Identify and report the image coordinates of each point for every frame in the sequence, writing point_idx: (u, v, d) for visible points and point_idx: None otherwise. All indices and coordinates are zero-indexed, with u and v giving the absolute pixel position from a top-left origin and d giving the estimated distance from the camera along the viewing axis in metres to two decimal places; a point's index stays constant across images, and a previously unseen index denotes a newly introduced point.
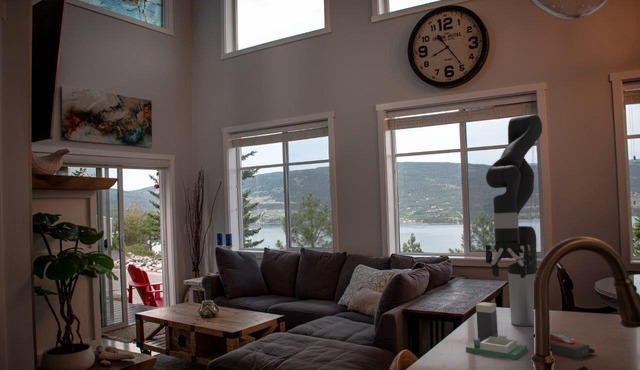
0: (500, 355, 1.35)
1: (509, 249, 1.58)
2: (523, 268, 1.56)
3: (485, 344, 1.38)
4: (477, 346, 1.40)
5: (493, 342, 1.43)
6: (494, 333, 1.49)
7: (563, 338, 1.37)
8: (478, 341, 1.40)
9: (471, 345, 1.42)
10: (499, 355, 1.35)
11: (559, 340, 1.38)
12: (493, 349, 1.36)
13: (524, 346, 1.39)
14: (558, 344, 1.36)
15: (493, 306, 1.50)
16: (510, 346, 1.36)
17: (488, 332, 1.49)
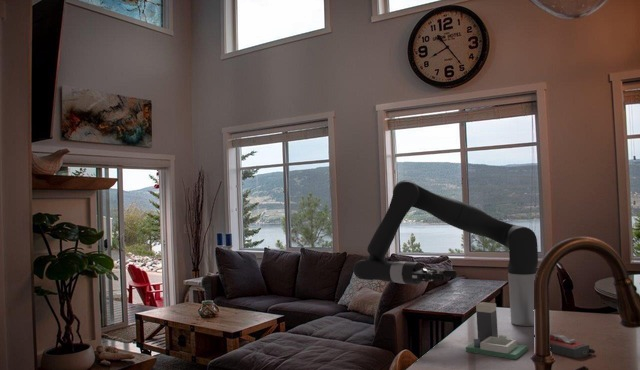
0: (500, 355, 1.35)
1: None
2: (434, 279, 1.57)
3: (485, 344, 1.38)
4: (477, 346, 1.40)
5: (493, 342, 1.43)
6: (494, 333, 1.49)
7: (563, 338, 1.37)
8: (478, 341, 1.40)
9: (471, 345, 1.42)
10: (499, 355, 1.35)
11: (559, 340, 1.38)
12: (493, 349, 1.36)
13: (524, 346, 1.39)
14: (558, 344, 1.36)
15: (493, 306, 1.50)
16: (510, 346, 1.36)
17: (488, 332, 1.49)
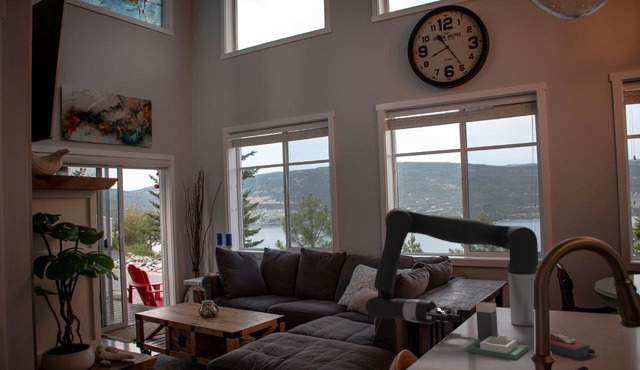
0: (500, 355, 1.35)
1: None
2: (449, 320, 1.54)
3: (485, 344, 1.38)
4: (477, 346, 1.40)
5: (493, 342, 1.43)
6: (494, 333, 1.49)
7: (564, 338, 1.37)
8: (478, 341, 1.40)
9: (471, 345, 1.42)
10: (499, 355, 1.35)
11: (560, 340, 1.38)
12: (493, 349, 1.36)
13: (524, 346, 1.39)
14: (558, 344, 1.36)
15: (493, 306, 1.50)
16: (510, 346, 1.36)
17: (488, 332, 1.49)
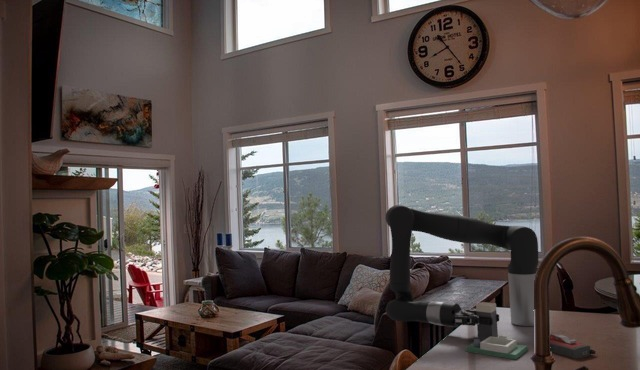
0: (500, 355, 1.35)
1: None
2: (482, 323, 1.49)
3: (485, 344, 1.38)
4: (477, 346, 1.40)
5: (493, 342, 1.43)
6: (494, 333, 1.49)
7: (564, 338, 1.36)
8: (478, 341, 1.40)
9: (471, 345, 1.42)
10: (499, 355, 1.35)
11: (560, 340, 1.38)
12: (493, 349, 1.36)
13: (524, 346, 1.39)
14: (558, 344, 1.36)
15: (493, 306, 1.50)
16: (510, 346, 1.36)
17: (488, 332, 1.49)
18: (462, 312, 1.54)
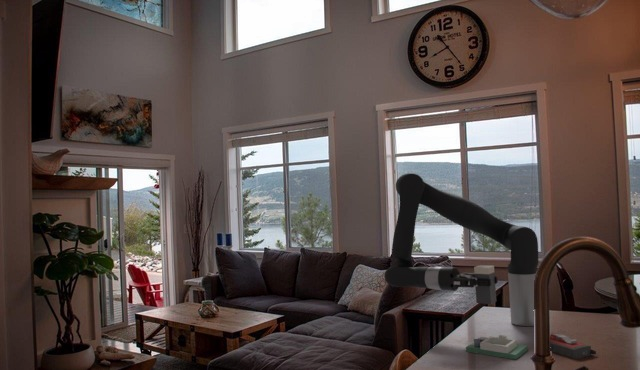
0: (500, 355, 1.35)
1: None
2: (480, 284, 1.50)
3: (485, 344, 1.38)
4: (477, 346, 1.40)
5: (493, 342, 1.43)
6: (492, 295, 1.50)
7: (565, 338, 1.36)
8: (478, 341, 1.40)
9: (471, 345, 1.42)
10: (499, 355, 1.35)
11: (561, 340, 1.38)
12: (493, 349, 1.36)
13: (524, 346, 1.39)
14: (559, 344, 1.36)
15: (491, 268, 1.51)
16: (510, 346, 1.36)
17: (487, 294, 1.49)
18: (460, 275, 1.55)
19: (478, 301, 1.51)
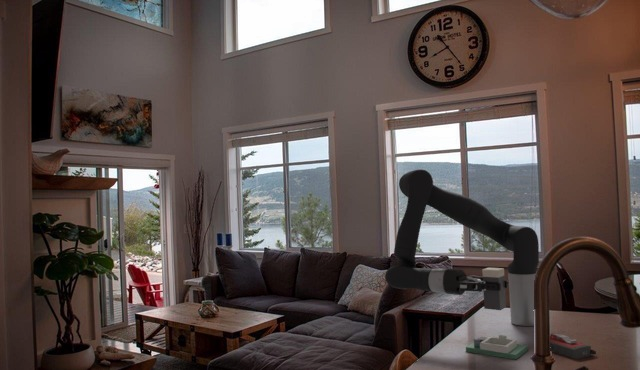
0: (500, 355, 1.35)
1: None
2: (488, 288, 1.38)
3: (485, 344, 1.38)
4: (477, 346, 1.40)
5: (493, 342, 1.43)
6: (501, 300, 1.38)
7: (565, 338, 1.36)
8: (478, 341, 1.40)
9: (471, 345, 1.42)
10: (499, 355, 1.35)
11: (561, 340, 1.38)
12: (493, 349, 1.36)
13: (524, 346, 1.39)
14: (558, 344, 1.36)
15: (501, 271, 1.39)
16: (510, 346, 1.36)
17: (496, 299, 1.37)
18: (467, 278, 1.43)
19: (486, 306, 1.39)
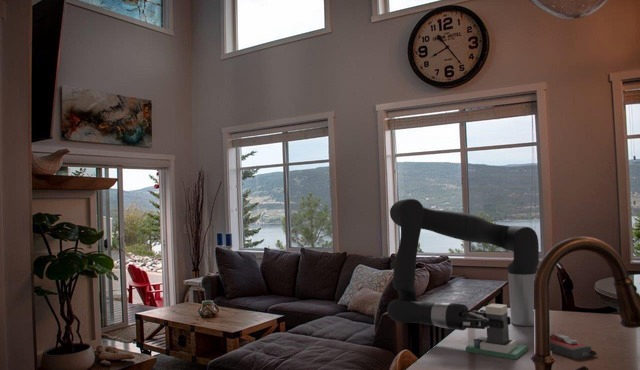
0: (500, 355, 1.35)
1: None
2: None
3: (485, 344, 1.38)
4: (477, 346, 1.40)
5: None
6: (505, 337, 1.37)
7: (565, 339, 1.36)
8: (478, 341, 1.40)
9: (471, 345, 1.42)
10: (499, 355, 1.35)
11: (562, 341, 1.38)
12: (493, 349, 1.36)
13: (524, 346, 1.39)
14: (559, 344, 1.36)
15: (504, 308, 1.38)
16: (510, 346, 1.36)
17: (499, 336, 1.37)
18: (470, 314, 1.42)
19: None
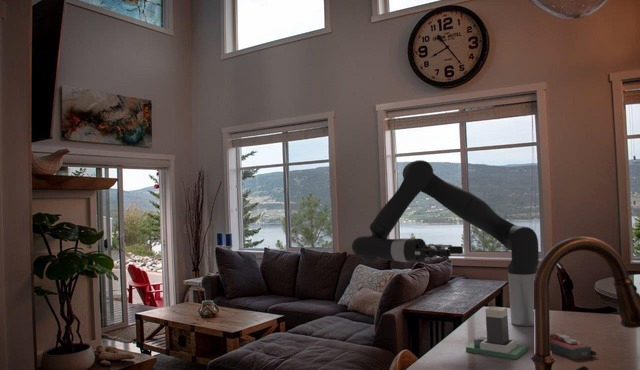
0: (500, 355, 1.35)
1: (427, 257, 1.52)
2: (439, 255, 1.45)
3: (485, 344, 1.38)
4: (477, 346, 1.40)
5: None
6: (505, 340, 1.37)
7: (565, 339, 1.36)
8: (478, 341, 1.40)
9: (471, 345, 1.42)
10: (499, 355, 1.35)
11: (563, 340, 1.38)
12: (493, 349, 1.36)
13: (524, 346, 1.39)
14: (559, 344, 1.35)
15: (504, 311, 1.38)
16: (510, 346, 1.36)
17: (499, 339, 1.37)
18: (426, 246, 1.51)
19: None
